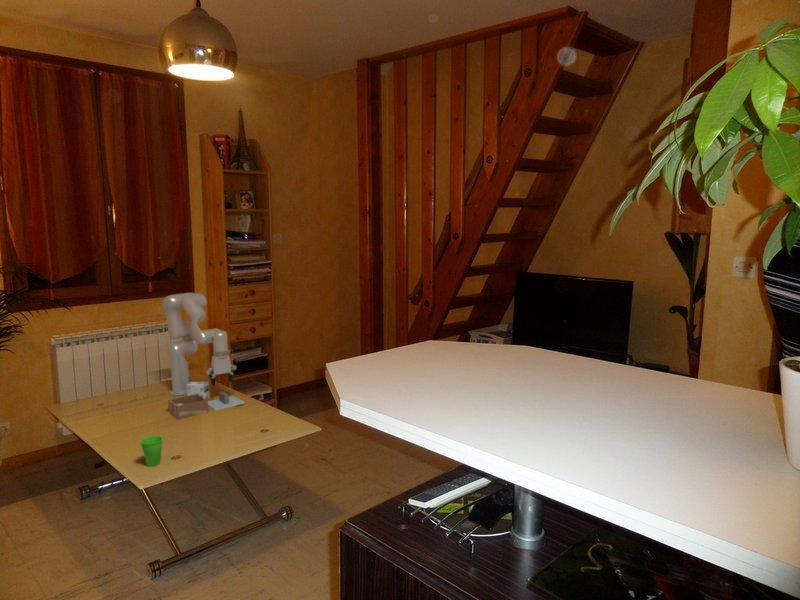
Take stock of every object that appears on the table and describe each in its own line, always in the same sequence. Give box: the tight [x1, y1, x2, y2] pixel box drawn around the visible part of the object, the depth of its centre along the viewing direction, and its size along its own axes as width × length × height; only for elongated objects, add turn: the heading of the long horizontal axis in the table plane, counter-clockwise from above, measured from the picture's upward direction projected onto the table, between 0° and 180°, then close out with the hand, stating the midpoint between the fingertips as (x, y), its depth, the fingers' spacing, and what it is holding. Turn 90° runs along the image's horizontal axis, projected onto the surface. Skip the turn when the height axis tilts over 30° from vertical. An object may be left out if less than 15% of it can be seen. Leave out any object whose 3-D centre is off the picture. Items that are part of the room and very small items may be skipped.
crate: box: [167, 394, 210, 421], centre depth 293 cm, size 14×16×8 cm
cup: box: [139, 435, 164, 468], centre depth 233 cm, size 9×9×11 cm
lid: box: [208, 391, 245, 411], centre depth 307 cm, size 15×17×7 cm
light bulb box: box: [186, 381, 211, 401], centre depth 314 cm, size 11×7×11 cm, turn 84°
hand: (222, 383), depth 306 cm, fingers open, 9 cm apart
